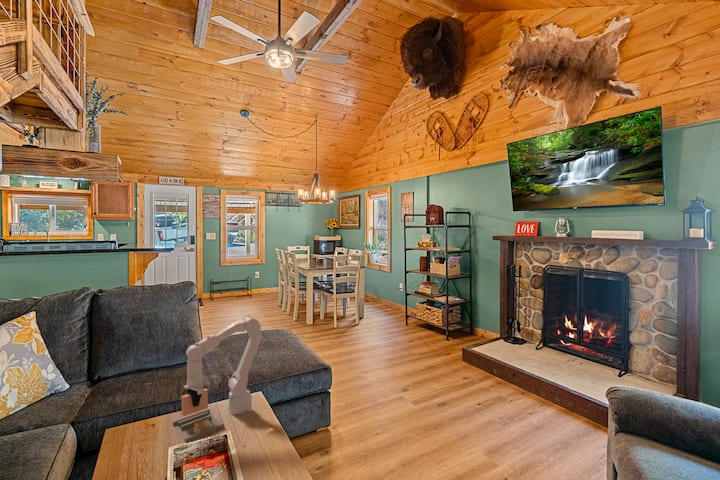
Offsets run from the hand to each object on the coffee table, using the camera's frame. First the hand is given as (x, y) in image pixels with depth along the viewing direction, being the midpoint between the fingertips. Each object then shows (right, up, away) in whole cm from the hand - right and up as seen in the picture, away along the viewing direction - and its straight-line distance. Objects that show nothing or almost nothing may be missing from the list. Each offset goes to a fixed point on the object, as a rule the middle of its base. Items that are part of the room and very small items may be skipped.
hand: (194, 404), depth 145 cm
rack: (+3, -9, -3) cm, 9 cm away
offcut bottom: (+6, -8, -6) cm, 11 cm away
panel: (0, -3, 0) cm, 3 cm away
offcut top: (+6, -6, -6) cm, 10 cm away
